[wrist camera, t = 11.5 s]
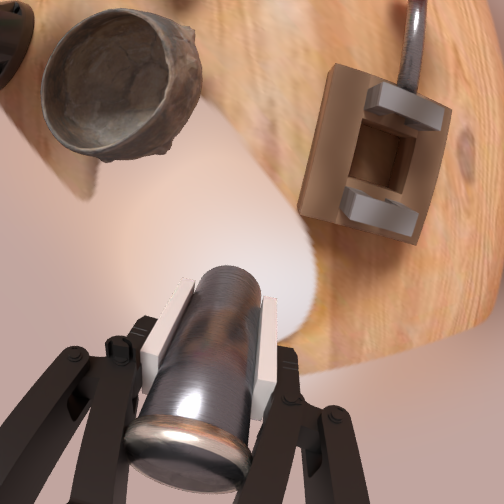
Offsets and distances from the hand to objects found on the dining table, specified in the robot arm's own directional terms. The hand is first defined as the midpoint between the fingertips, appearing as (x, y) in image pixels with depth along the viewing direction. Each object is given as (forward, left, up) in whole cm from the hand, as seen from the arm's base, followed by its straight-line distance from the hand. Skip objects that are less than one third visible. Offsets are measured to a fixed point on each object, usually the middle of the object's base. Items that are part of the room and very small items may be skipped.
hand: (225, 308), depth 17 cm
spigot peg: (0, 0, -2) cm, 2 cm away
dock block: (+10, +11, -15) cm, 21 cm away
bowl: (-14, +13, -15) cm, 24 cm away
